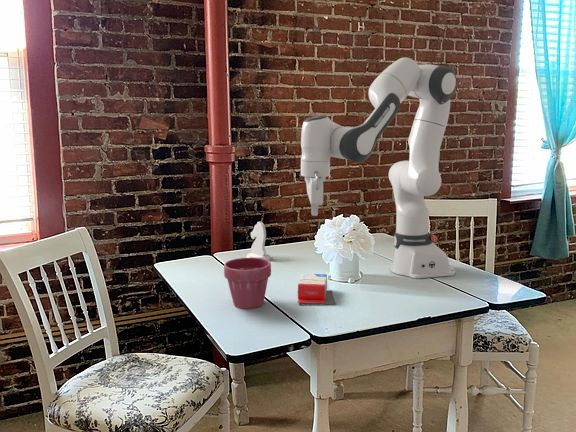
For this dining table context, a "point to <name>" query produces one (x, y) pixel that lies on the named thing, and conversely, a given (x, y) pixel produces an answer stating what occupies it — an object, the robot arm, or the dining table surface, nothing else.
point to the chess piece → (259, 242)
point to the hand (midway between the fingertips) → (314, 214)
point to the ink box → (312, 288)
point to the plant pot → (247, 280)
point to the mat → (328, 300)
